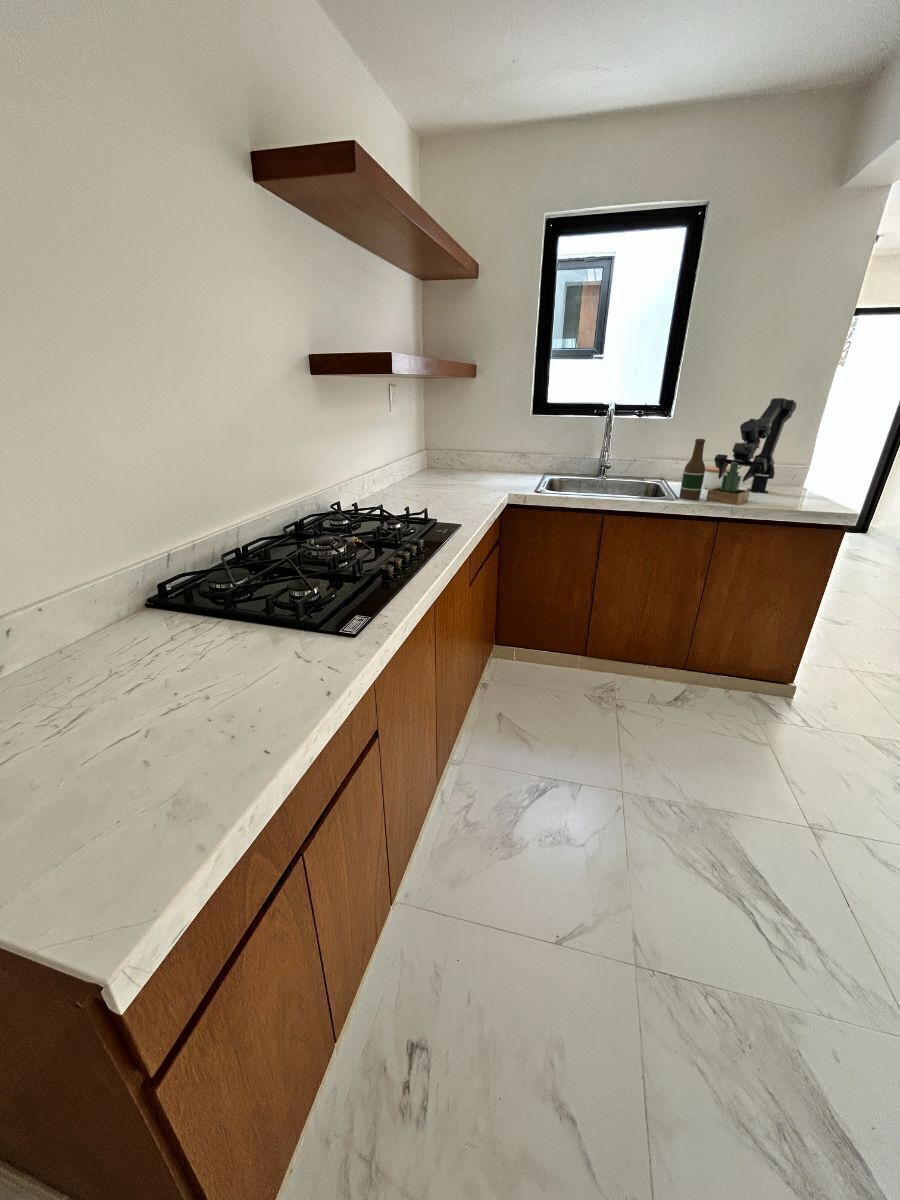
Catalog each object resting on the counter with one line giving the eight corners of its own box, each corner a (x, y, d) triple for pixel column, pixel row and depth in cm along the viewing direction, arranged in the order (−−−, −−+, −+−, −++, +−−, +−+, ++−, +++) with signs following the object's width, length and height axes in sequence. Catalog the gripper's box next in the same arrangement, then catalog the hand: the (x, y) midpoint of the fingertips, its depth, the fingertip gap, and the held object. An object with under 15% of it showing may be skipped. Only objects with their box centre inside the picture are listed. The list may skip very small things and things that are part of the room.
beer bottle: (698, 498, 209) (710, 438, 200) (700, 501, 203) (712, 440, 193) (678, 496, 212) (689, 437, 202) (679, 500, 205) (690, 439, 196)
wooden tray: (717, 497, 211) (719, 486, 209) (747, 501, 203) (749, 490, 201) (705, 501, 204) (708, 490, 202) (736, 505, 196) (738, 494, 194)
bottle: (715, 498, 207) (723, 461, 201) (732, 499, 206) (740, 461, 200) (721, 501, 201) (729, 463, 195) (738, 502, 200) (746, 463, 194)
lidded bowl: (734, 490, 225) (740, 465, 221) (706, 490, 225) (711, 465, 221) (721, 485, 237) (726, 461, 233) (694, 485, 237) (698, 461, 233)
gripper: (721, 433, 203) (704, 463, 201) (772, 436, 190) (754, 469, 188) (724, 452, 211) (708, 481, 208) (773, 456, 198) (756, 487, 196)
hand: (730, 479), depth 200 cm, fingers open, 9 cm apart
